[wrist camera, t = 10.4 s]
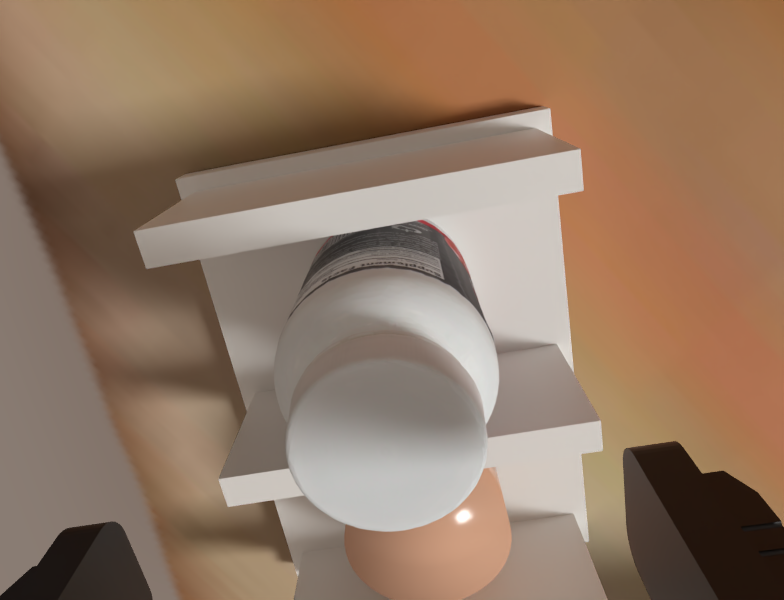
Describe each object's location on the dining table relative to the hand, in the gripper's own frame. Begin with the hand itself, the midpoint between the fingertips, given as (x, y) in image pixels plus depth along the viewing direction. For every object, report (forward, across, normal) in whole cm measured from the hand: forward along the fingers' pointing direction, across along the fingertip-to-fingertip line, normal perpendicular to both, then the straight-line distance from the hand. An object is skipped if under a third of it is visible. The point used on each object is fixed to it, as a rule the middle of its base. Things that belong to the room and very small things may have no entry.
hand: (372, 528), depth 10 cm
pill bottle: (+12, 0, 0) cm, 12 cm away
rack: (+13, 0, +4) cm, 14 cm away
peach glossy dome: (+12, 0, +8) cm, 14 cm away
